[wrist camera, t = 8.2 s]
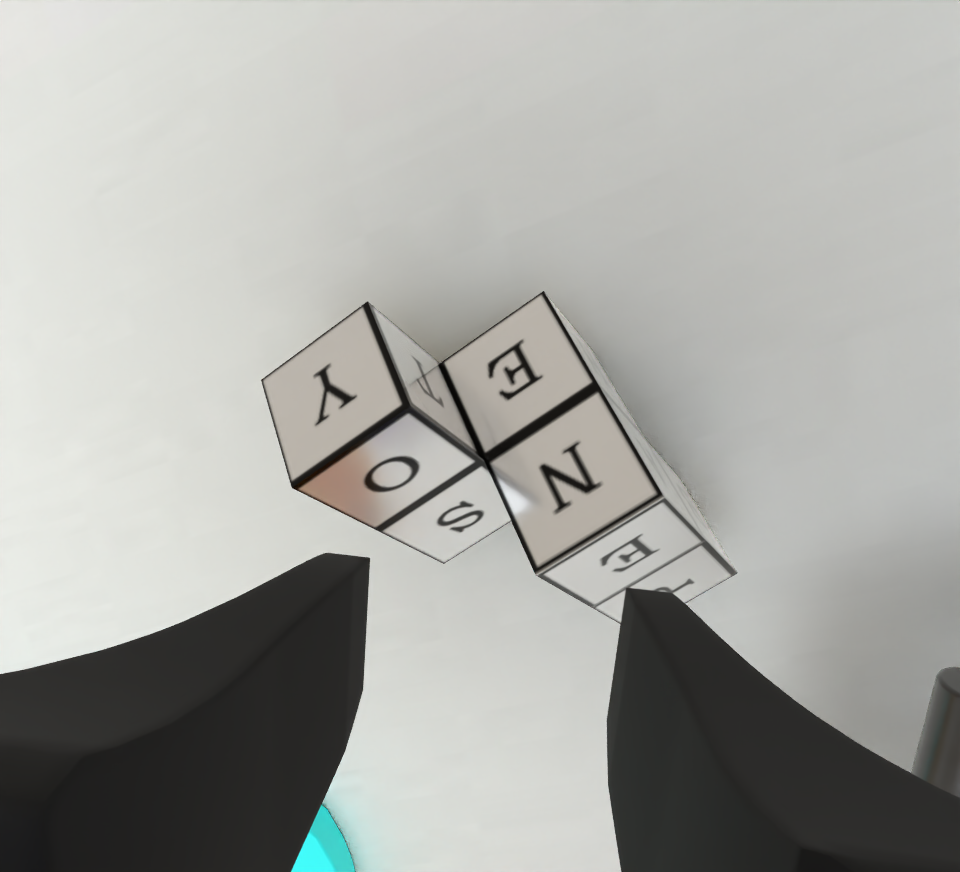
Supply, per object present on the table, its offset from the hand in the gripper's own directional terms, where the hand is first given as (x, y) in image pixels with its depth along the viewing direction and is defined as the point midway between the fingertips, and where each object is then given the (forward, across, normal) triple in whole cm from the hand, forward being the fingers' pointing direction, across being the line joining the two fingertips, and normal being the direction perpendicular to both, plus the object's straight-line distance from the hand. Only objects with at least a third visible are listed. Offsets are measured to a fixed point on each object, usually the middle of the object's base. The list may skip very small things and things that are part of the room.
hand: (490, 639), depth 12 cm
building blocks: (+10, 0, 0) cm, 10 cm away
